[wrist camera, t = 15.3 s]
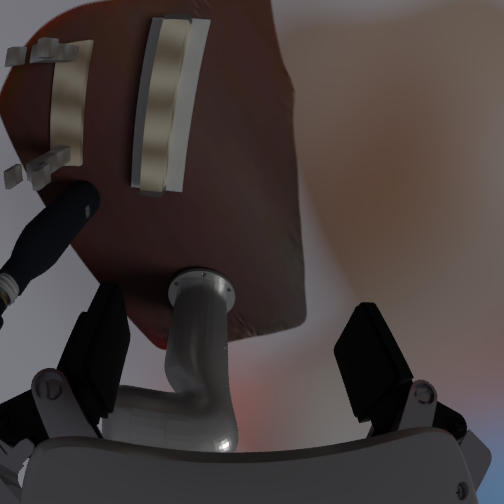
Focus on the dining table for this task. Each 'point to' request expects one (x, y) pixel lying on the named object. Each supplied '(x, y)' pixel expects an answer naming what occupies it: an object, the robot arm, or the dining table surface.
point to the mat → (182, 102)
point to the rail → (163, 102)
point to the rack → (57, 107)
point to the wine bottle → (46, 239)
